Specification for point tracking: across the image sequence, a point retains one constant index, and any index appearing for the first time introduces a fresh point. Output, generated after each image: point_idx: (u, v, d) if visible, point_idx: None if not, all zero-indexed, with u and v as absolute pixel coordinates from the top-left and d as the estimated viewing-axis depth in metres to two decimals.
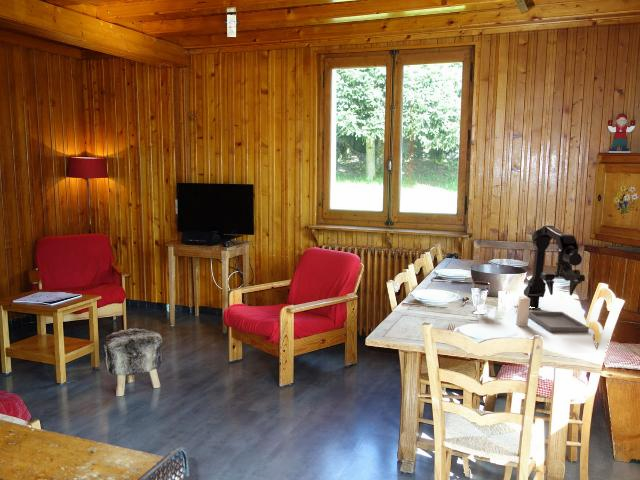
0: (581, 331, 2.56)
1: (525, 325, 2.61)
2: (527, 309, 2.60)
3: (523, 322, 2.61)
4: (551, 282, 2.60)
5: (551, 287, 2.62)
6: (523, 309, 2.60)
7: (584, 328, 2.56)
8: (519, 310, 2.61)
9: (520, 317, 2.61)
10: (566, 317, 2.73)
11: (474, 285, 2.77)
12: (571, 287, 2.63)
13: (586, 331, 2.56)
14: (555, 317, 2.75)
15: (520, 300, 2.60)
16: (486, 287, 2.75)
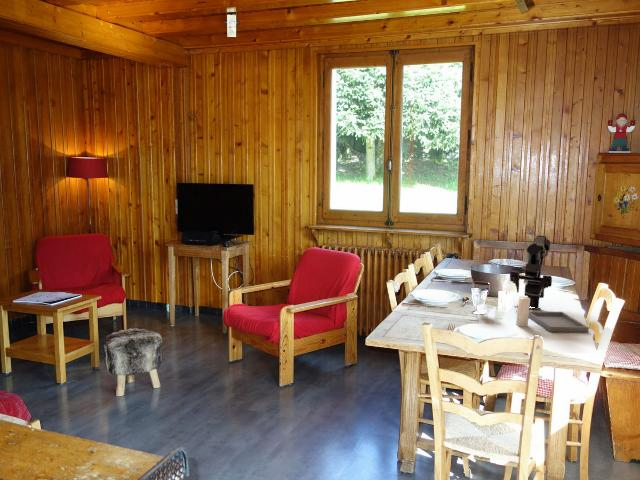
0: (581, 331, 2.56)
1: (525, 325, 2.61)
2: (527, 309, 2.60)
3: (523, 322, 2.61)
4: (516, 277, 2.72)
5: (517, 284, 2.72)
6: (523, 309, 2.60)
7: (584, 328, 2.56)
8: (519, 310, 2.61)
9: (520, 317, 2.61)
10: (566, 317, 2.73)
11: (474, 285, 2.77)
12: None
13: (586, 331, 2.56)
14: (555, 317, 2.75)
15: (520, 300, 2.60)
16: (486, 287, 2.75)
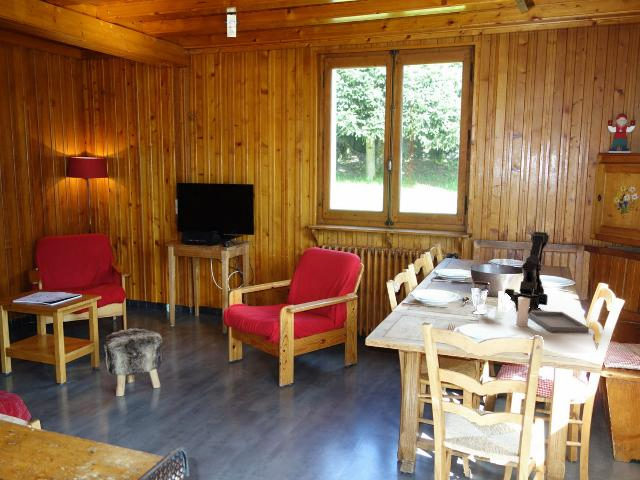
0: (581, 331, 2.56)
1: (525, 325, 2.61)
2: (527, 309, 2.60)
3: (523, 322, 2.61)
4: (515, 296, 2.65)
5: (516, 302, 2.64)
6: (523, 309, 2.60)
7: (584, 328, 2.56)
8: (519, 310, 2.61)
9: (520, 317, 2.61)
10: (566, 317, 2.73)
11: (474, 285, 2.77)
12: None
13: (586, 331, 2.56)
14: (555, 317, 2.75)
15: (520, 300, 2.60)
16: (486, 287, 2.75)
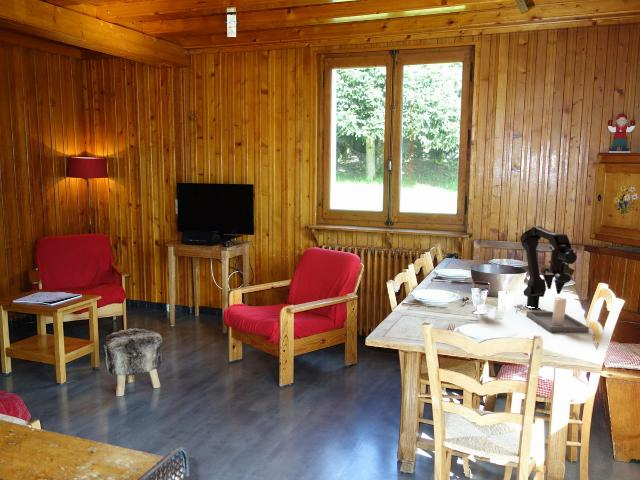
0: (581, 331, 2.56)
1: None
2: (564, 310, 2.58)
3: (562, 323, 2.58)
4: None
5: None
6: (562, 310, 2.57)
7: (584, 328, 2.56)
8: (557, 312, 2.58)
9: (559, 319, 2.58)
10: (566, 317, 2.73)
11: (474, 285, 2.77)
12: (549, 282, 2.80)
13: (586, 331, 2.56)
14: None
15: (558, 302, 2.57)
16: (486, 287, 2.75)
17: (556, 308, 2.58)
